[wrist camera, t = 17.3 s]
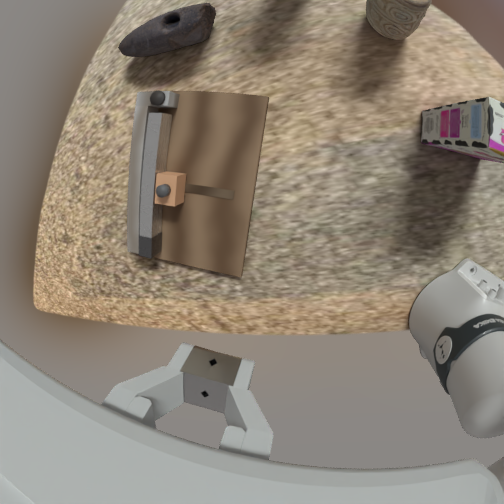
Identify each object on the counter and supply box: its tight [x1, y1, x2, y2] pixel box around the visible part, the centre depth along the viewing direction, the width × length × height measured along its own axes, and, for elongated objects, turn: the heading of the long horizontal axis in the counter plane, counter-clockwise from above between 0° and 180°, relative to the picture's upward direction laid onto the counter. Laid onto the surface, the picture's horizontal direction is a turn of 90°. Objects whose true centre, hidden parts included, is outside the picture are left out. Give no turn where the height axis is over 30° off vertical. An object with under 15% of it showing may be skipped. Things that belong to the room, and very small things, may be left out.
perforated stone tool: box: [118, 3, 216, 57], centre depth 28 cm, size 15×5×7 cm, turn 95°
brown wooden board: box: [127, 91, 269, 277], centre depth 36 cm, size 19×25×5 cm
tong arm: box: [139, 113, 172, 258], centre depth 37 cm, size 2×20×3 cm, turn 171°
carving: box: [366, 0, 431, 40], centre depth 20 cm, size 6×8×12 cm
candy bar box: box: [421, 97, 504, 163], centre depth 22 cm, size 11×5×16 cm, turn 88°
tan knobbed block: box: [155, 171, 186, 207], centre depth 36 cm, size 3×4×4 cm
